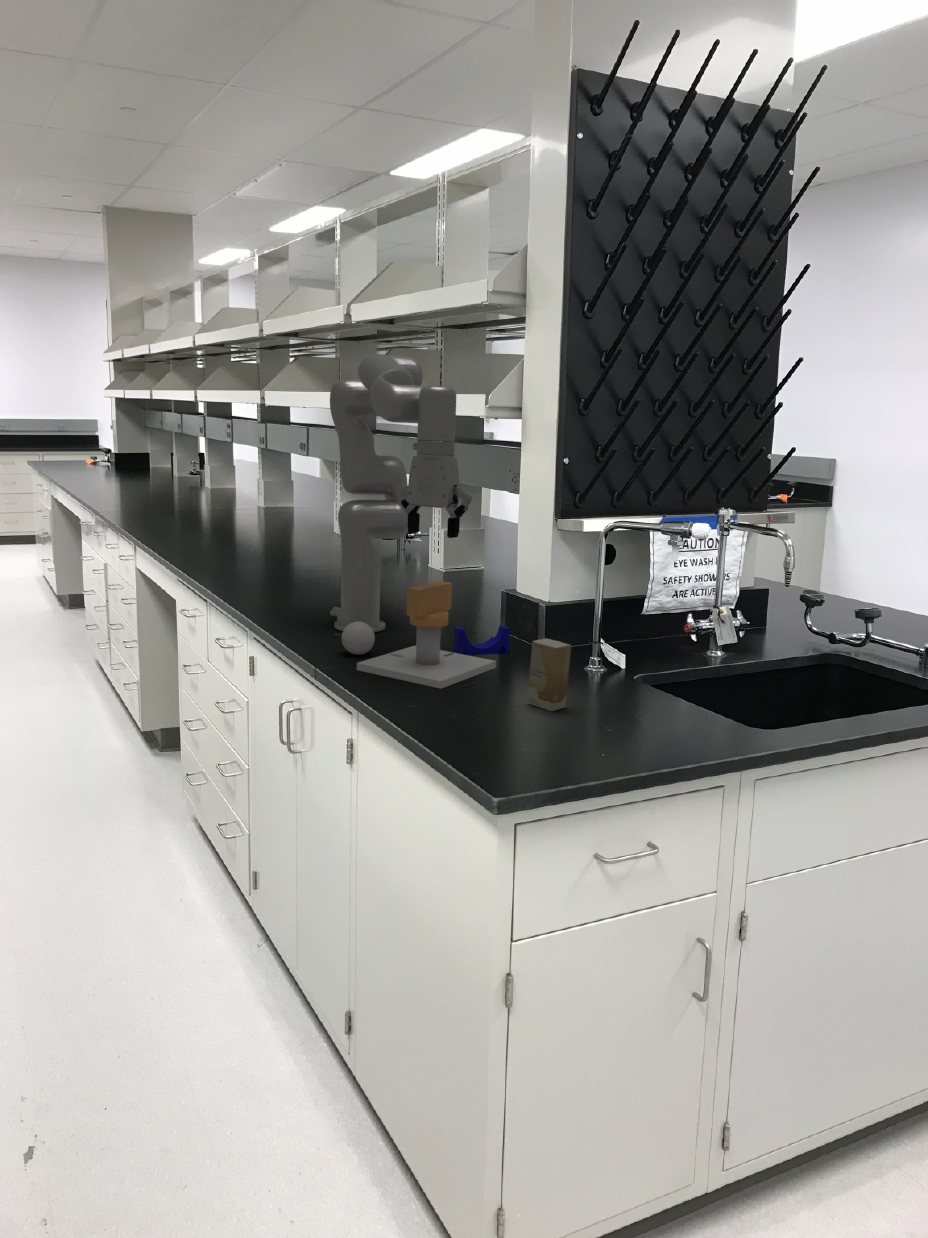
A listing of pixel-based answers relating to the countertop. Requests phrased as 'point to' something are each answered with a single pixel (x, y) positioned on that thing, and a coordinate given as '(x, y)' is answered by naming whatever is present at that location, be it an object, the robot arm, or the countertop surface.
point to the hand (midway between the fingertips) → (432, 535)
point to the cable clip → (491, 646)
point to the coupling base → (427, 671)
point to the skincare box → (549, 674)
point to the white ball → (358, 638)
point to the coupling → (429, 604)
